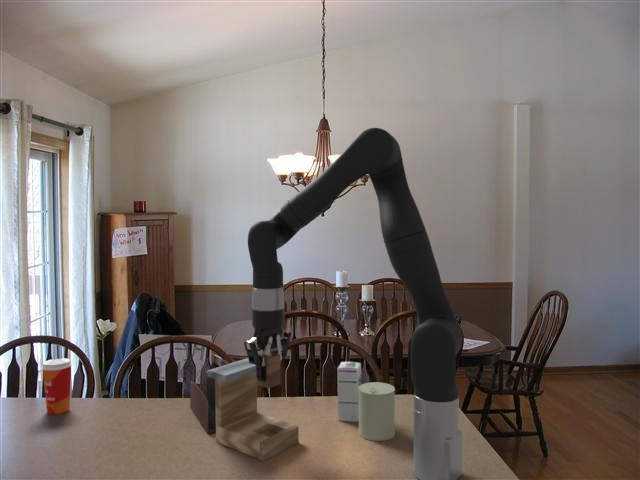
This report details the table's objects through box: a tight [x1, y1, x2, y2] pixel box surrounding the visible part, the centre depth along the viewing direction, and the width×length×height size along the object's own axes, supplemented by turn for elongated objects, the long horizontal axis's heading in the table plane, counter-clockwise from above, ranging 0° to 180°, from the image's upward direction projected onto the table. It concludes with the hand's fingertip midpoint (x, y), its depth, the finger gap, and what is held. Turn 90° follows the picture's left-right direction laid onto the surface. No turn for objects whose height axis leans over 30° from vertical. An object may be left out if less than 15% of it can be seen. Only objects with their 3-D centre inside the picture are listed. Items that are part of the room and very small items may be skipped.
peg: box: [256, 352, 282, 389], centre depth 126 cm, size 4×4×7 cm
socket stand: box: [207, 357, 300, 462], centre depth 130 cm, size 18×14×18 cm
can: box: [357, 381, 396, 442], centre depth 134 cm, size 9×9×12 cm
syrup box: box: [336, 361, 362, 423], centre depth 144 cm, size 6×6×14 cm
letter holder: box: [189, 358, 230, 435], centre depth 145 cm, size 10×20×14 cm, turn 26°
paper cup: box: [41, 357, 73, 415], centre depth 149 cm, size 8×8×14 cm
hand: (268, 378), depth 126 cm, fingers closed on peg, 4 cm apart
